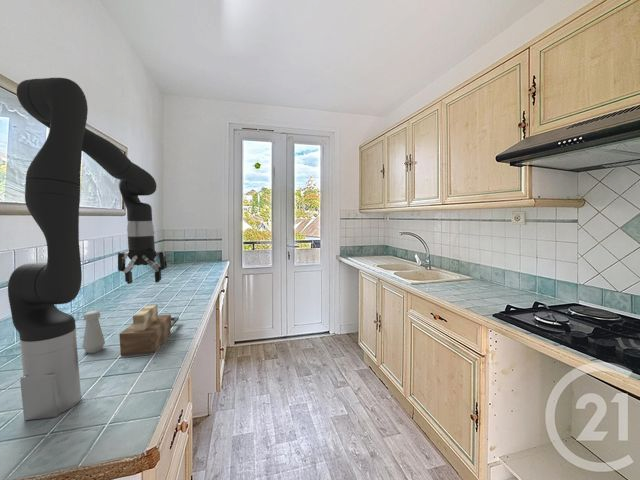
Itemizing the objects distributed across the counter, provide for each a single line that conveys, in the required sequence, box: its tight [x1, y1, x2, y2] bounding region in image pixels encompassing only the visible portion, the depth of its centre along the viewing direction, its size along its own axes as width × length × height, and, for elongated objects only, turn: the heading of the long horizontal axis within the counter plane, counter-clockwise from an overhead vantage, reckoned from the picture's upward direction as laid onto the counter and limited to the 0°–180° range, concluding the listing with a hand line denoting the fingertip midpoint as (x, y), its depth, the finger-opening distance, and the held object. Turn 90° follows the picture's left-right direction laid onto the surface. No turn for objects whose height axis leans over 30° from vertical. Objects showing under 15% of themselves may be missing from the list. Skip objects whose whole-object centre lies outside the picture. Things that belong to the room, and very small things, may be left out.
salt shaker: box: [82, 310, 106, 354], centre depth 95 cm, size 6×6×13 cm
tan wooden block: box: [118, 303, 180, 338], centre depth 104 cm, size 25×10×10 cm, turn 10°
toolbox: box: [119, 319, 172, 356], centre depth 100 cm, size 15×10×6 cm, turn 10°
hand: (143, 282), depth 98 cm, fingers open, 8 cm apart
